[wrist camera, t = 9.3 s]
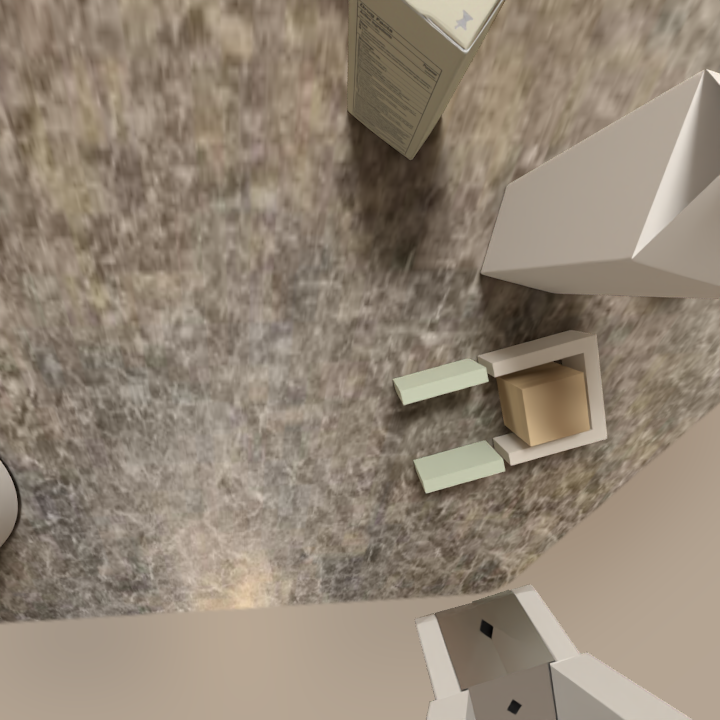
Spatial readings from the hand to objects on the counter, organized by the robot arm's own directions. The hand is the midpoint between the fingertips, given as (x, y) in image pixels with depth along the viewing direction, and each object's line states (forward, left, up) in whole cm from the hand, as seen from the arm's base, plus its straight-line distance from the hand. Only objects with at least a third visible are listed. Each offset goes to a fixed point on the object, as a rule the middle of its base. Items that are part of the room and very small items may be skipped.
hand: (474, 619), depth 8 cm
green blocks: (+5, -5, -22) cm, 23 cm away
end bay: (+13, -5, -22) cm, 26 cm away
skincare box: (+7, +20, -22) cm, 30 cm away
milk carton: (+16, +8, -22) cm, 28 cm away
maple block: (+13, -5, -22) cm, 26 cm away
